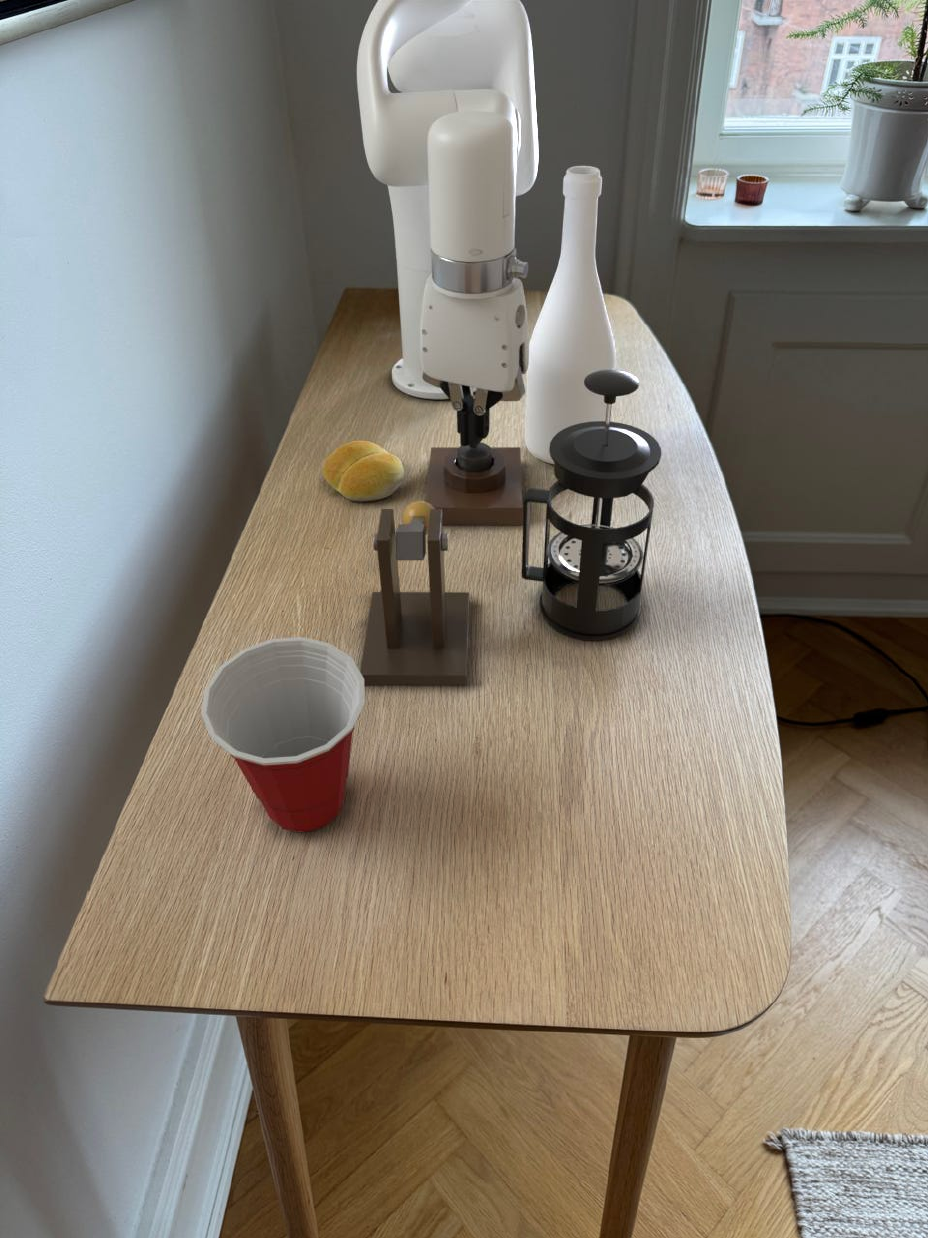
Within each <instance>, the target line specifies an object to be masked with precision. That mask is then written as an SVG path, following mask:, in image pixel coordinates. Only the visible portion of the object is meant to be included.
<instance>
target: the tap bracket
mask: <svg viewBox="0 0 928 1238" xmlns="http://www.w3.org/2000/svg"><path fill="white" fill-rule="evenodd" d="M395 523H396V522H395V512H394V508H381V510H380V516H379V522H378V527H377V533H373V542H372V543H373V544H372V545H373V551H375V552H377V561H378V572H379V581H380V591H372V594H371V601H370V606H369V613H368V620H367V625H366V632H365V639H364V645H363V651H362V658H361V663H360V664H361V665H360V669H359V671H360V673H361V674H362V676H363V678H364V686H467V685H468V658H469V657H468V655H469V654H468V653H469V652H468V651H469V624H470V623H469V621H470V592H468V591H466V592H465V591H464V592H462V591H461V592H460V591H457V592H456V591H448V592H447V591H446V575H445V574H446V572H445V552H448V551H449V533H444V525H443V517H442V509H430V516H429V527H428V534H427V537H426V547H427V563H428V581H429V591H401V586H400V575H399V574H400V573H399V560H396V524H395Z"/></svg>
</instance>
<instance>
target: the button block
mask: <svg viewBox="0 0 928 1238" xmlns="http://www.w3.org/2000/svg"><path fill="white" fill-rule="evenodd" d="M459 447H460V446H458V447H456V446H455V447H453V446H452V447H449V446H448V447H447V446H444V447H443V446H442V447H440V446H439V447H438V446H437V447H433V446H432V447H431V448H430V457H429V466H428V474H427V475H428V476H427V485H426V495H425V502H428V503H429V504H431V505H432V506H433V507H434V508H435V509H442V517H443V526H523V510H524V499H523V482H522V479H523V478H522V456H521V453H522V452H521V447H520V446H519V447H518V446H517V447H516V446H515V447H514V446H513V447H511V446H510V447H507V446H505V447H504V446H503V447H502V446H499V447H498V446H496V447H495V446H494V447H493V446H492V447H491V446H490V447H491V449H492V466H491V468H490V469H489V470H486V471H483V472H466V471H463V470H460V469H459V467H458V448H459Z"/></svg>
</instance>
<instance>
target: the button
mask: <svg viewBox="0 0 928 1238" xmlns="http://www.w3.org/2000/svg"><path fill="white" fill-rule="evenodd" d="M458 447H459V448H458V467H459V469H460V470H463V471H466V472H483V471H486V470H489V469H490V468H491V466H492V449H491V446H490V445H488V444H487V443H485V442H482V441H481V442H480V443H479V445H478V446H477V447H476V448H475V449H474V448H470V446H469V445H468V446H461V445H459V446H458Z"/></svg>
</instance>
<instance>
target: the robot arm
mask: <svg viewBox="0 0 928 1238" xmlns="http://www.w3.org/2000/svg"><path fill="white" fill-rule="evenodd" d="M532 42H533V41H532V33H531V27H530V22H529V17H528V14H527V12H526V9H525V6H524V4H523V3H522V2H521V0H377V1H376V3H375V5H374V7H373V9H372V10H371V12H370V14H369V16H368V19H367V21H366V23H365V25H364V28H363V31H362V33H361V38H360V41H359V44H358V51H357V60H356V87H357V96H358V97H357V98H358V104H359V105H358V106H359V115H360V125H361V132H362V143H363V148H364V153H365V158H366V161H367V165H368V168H369V169H370V172H371V173H372V175H373V177H374V178H375V179H376V180H377V181H379V182H380V183H381V184H384V185H386V186H387V190H388V195H389V200H390V207H391V213H392V222H393V223H392V224H393V232H394V247H395V258H396V271H397V286H398V288H397V289H398V302H399V303H398V304H399V318H400V320H399V321H400V334H401V335H400V336H401V348H402V350H401V351H402V358H400V359H399V360H398V361H397V362H396V363H395V364H393V367H392V370H391V379H392V383H393V385H394V386H395V387H396V388H397V389H398V390H399V391H401V392H403V393H404V394H406V395H408V396H410V397H411V396H412V397H415V398H419V399H426V400H450V402H451V408H452V409H453V410H454V411H456V432H457V433H458V434H459V437H460V439H459V441H460V443H459V444H460V446H468V445H469V446H470V448H474V449H475V448H476V447H477V446H478V445H479V443H480V442H481V443H482V441H483V440H485V439H487V438H488V436H489V433H490V424H491V423H490V422H491V421H490V418H491V417H490V415H491V411H490V410H491V408H493V407H494V406H496V405H497V404H498V403H499V402H519V401H521V400H522V398H524V395H526V386H525V383H524V377H523V375H526V374H527V369H528V365H529V343H530V338H529V337H530V336H529V321H528V320H529V319H528V311H527V310H528V309H527V304H526V296H525V291H524V285H523V281H522V280H521V279H520V278H523V279H525V278H527V275H528V273H529V263H528V262H527V261H522V260H521V259H518V256H517V247H515V237H516V236H515V235H516V198H517V197H519V196H522V195H524V194H526V193H527V192H529V191H530V190H531V189H532V188H533V186H534V184H535V182H536V179H537V174H538V167H539V138H538V136H539V135H538V122H537V105H536V89H535V72H534V71H535V70H534V54H533V43H532ZM388 74H389V75H388ZM388 76H389V77H390V81H391V82H392V85H393V86H394V88H395V89H396V90H397V91H399V92H391V91H390V89H389V84H388ZM474 393H475V396H474Z"/></svg>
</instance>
